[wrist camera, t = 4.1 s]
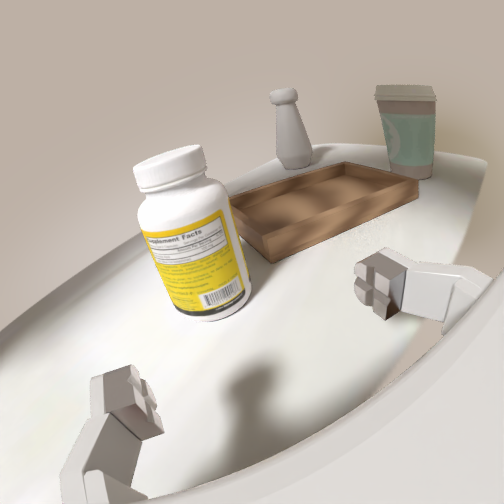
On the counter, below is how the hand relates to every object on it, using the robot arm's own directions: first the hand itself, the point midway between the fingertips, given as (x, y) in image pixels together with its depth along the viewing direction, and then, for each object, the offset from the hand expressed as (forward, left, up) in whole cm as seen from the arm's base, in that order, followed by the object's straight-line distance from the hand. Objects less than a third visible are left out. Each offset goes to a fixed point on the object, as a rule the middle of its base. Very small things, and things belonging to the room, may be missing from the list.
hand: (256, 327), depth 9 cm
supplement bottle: (0, +10, -5) cm, 11 cm away
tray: (+14, +16, -5) cm, 22 cm away
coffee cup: (+30, +16, -5) cm, 35 cm away
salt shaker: (+22, +34, -5) cm, 40 cm away
